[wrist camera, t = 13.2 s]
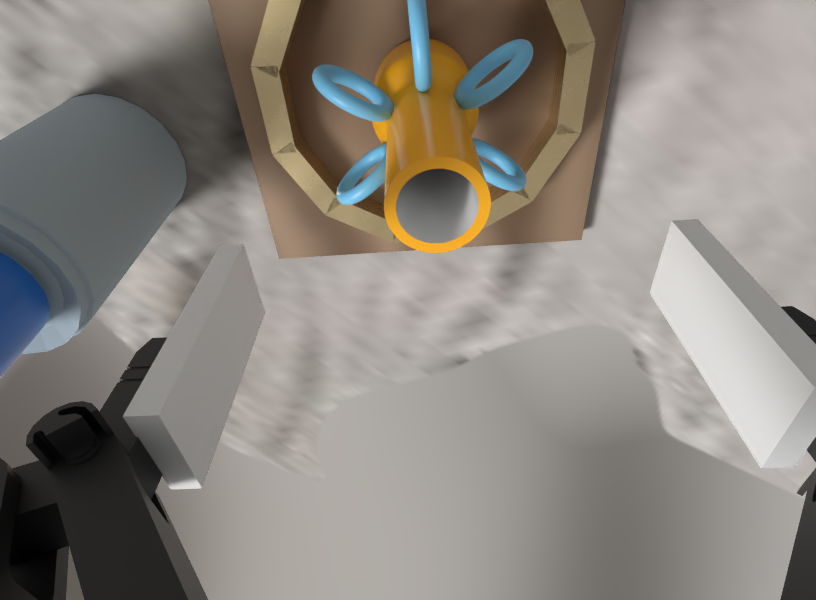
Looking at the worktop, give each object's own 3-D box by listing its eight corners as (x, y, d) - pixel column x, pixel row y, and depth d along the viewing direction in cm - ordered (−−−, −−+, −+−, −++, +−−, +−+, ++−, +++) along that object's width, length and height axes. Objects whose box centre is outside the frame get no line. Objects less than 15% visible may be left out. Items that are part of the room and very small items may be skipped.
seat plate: (649, -184, 24) (659, -187, 23) (576, 231, 38) (581, 239, 37) (177, -143, 24) (168, -145, 23) (282, 250, 39) (279, 258, 38)
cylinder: (315, -15, 27) (249, 46, 15) (508, -41, 26) (599, 2, 14) (354, 191, 34) (332, 338, 22) (505, 174, 34) (562, 317, 22)
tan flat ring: (607, -126, 24) (622, -129, 22) (558, 218, 36) (565, 232, 34) (222, -95, 24) (211, -94, 23) (299, 234, 36) (295, 249, 35)
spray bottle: (200, 218, 37) (-23, 571, 17) (79, 217, 37) (-286, 573, 17) (166, 94, 31) (-221, 408, 12) (23, 92, 31) (-615, 408, 11)
